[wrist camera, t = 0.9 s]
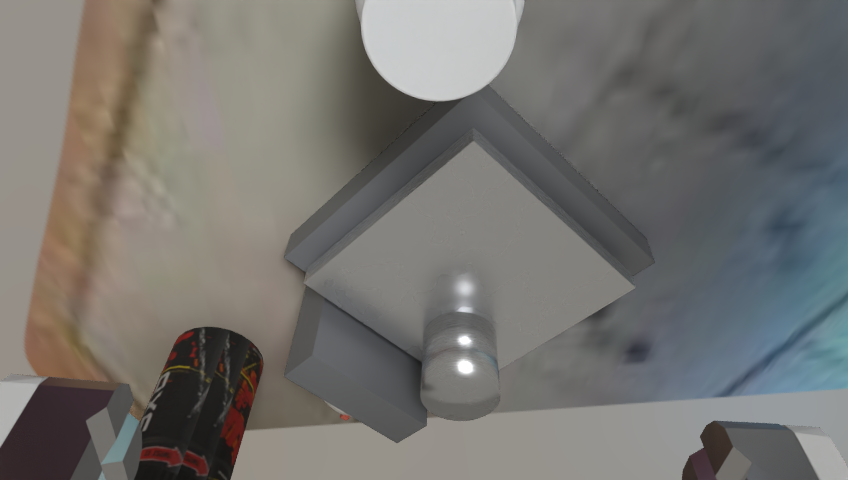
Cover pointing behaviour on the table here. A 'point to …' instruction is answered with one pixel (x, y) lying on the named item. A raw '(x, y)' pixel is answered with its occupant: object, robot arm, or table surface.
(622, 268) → the scale plate
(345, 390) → the base
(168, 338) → the table surface
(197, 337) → the deodorant
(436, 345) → the spacer
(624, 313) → the table surface
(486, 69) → the pill bottle
